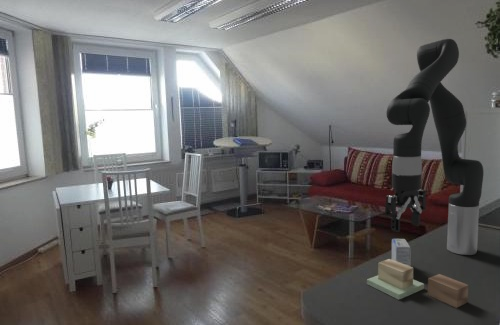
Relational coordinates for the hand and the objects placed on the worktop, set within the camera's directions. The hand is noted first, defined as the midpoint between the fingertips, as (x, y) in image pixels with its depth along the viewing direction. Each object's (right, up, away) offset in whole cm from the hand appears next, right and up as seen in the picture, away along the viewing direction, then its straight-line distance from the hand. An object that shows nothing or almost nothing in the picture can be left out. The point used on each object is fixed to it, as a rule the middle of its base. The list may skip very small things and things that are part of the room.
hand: (405, 228), depth 100 cm
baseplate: (-2, -18, +3) cm, 18 cm away
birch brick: (-2, -16, +3) cm, 16 cm away
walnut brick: (+9, -18, -4) cm, 21 cm away
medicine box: (+5, -16, +15) cm, 23 cm away
